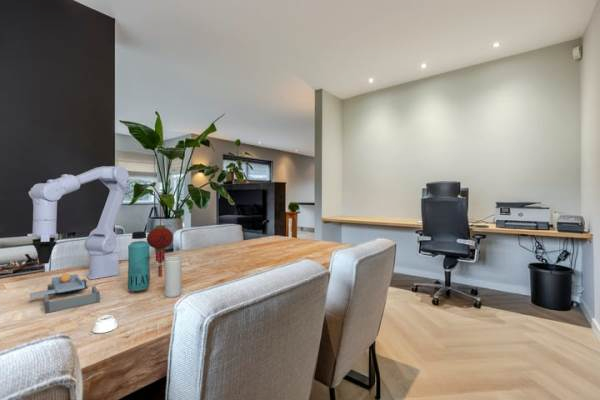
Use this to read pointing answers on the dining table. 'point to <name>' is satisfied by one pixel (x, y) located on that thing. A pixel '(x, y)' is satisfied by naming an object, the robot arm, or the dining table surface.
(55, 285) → the blue-grey piece
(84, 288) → the stand
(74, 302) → the dish
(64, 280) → the ball
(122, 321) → the dining table surface
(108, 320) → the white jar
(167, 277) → the beverage can
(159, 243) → the lantern
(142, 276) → the beverage bottle
